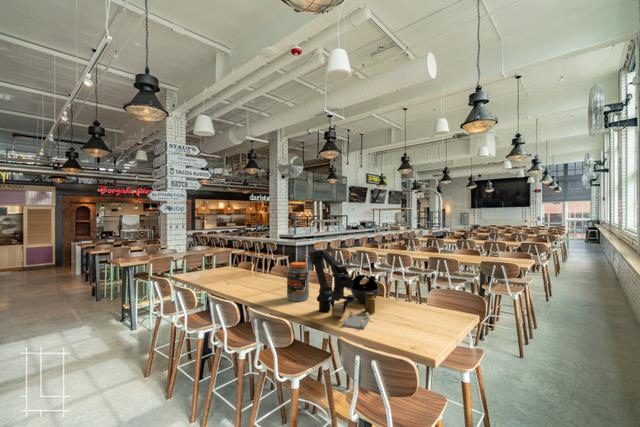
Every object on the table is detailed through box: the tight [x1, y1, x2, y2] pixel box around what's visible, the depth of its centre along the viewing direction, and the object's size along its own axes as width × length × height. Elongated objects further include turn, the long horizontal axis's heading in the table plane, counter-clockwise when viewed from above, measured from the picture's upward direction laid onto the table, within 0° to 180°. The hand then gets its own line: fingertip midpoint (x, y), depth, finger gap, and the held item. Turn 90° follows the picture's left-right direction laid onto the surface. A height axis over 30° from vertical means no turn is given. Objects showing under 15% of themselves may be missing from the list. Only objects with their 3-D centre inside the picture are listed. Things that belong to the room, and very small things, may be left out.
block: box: [331, 302, 347, 318], centre depth 177 cm, size 10×6×4 cm, turn 161°
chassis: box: [342, 310, 371, 330], centre depth 168 cm, size 16×12×4 cm
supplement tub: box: [286, 261, 310, 302], centre depth 215 cm, size 16×16×26 cm
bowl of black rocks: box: [350, 274, 380, 304], centre depth 208 cm, size 20×20×19 cm
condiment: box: [360, 292, 378, 316], centre depth 185 cm, size 7×8×12 cm
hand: (338, 311), depth 177 cm, fingers closed on block, 6 cm apart
